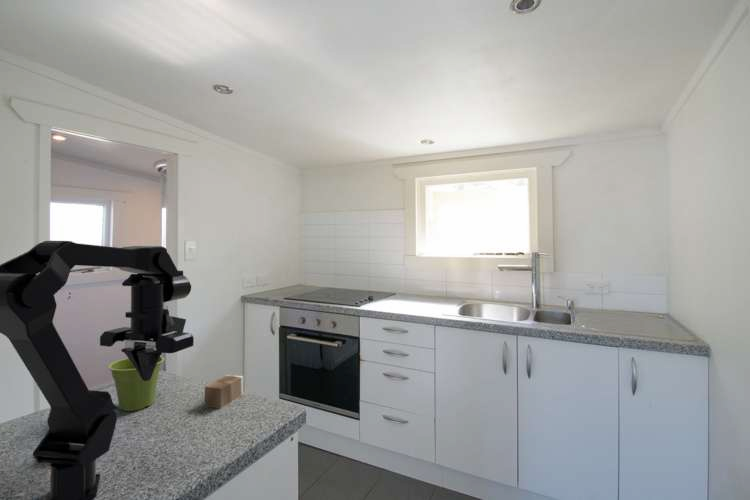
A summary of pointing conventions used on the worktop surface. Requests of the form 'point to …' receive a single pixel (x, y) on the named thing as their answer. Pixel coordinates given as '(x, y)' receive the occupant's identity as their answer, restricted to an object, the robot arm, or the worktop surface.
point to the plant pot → (134, 385)
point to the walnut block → (223, 391)
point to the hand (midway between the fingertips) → (146, 380)
